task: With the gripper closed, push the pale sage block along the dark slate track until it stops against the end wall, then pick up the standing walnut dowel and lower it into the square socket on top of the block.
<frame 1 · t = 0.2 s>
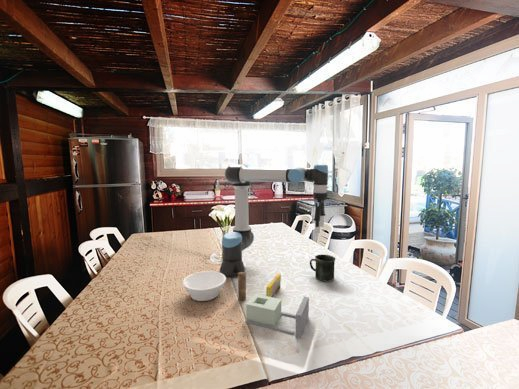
hand: (319, 229, 145), 28 cm above the table, fingers open, 13 cm apart
mug: (321, 277, 148), on the table
bowl: (205, 295, 128), on the table
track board: (275, 323, 105), on the table
candy box: (273, 296, 127), on the table
dowel: (242, 301, 122), on the table
block: (264, 309, 106), point 5 cm above the table, slide at 0.0 cm
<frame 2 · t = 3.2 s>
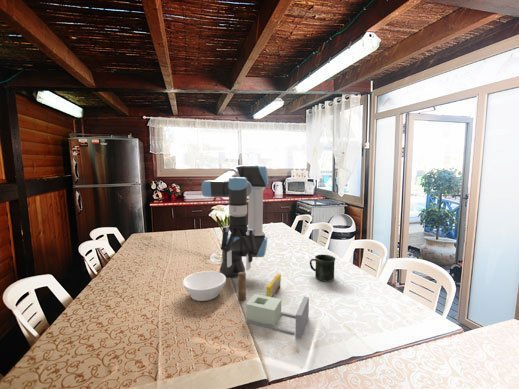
hand: (238, 267, 109), 21 cm above the table, fingers open, 8 cm apart
nothing on the table moved.
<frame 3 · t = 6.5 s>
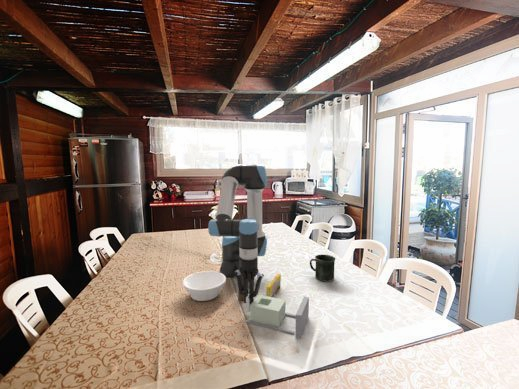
hand: (248, 310, 109), 3 cm above the table, fingers closed
block: (268, 310, 106), point 5 cm above the table, slide at 1.8 cm, touching gripper
everything else where it was.
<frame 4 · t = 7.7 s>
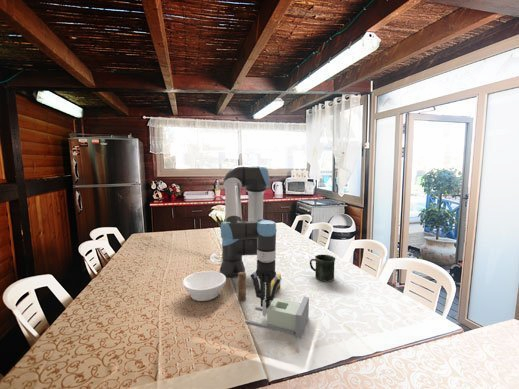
hand: (265, 314, 106), 3 cm above the table, fingers closed
block: (285, 314, 103), point 5 cm above the table, slide at 9.0 cm, touching gripper, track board
everything else where it was.
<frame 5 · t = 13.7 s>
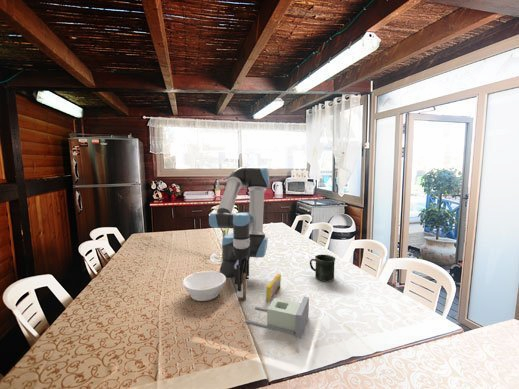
hand: (242, 294, 121), 4 cm above the table, fingers closed on dowel, 3 cm apart
dowel: (242, 301, 122), on the table, touching gripper
block: (285, 314, 103), point 5 cm above the table, slide at 9.0 cm, touching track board
everything else where it was.
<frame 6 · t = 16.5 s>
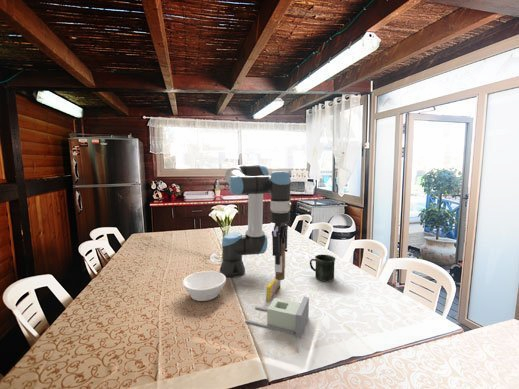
hand: (280, 269, 102), 23 cm above the table, fingers closed on dowel, 3 cm apart
dowel: (280, 278, 102), point 20 cm above the table, touching gripper
everything else where it was.
when the fingers open (9 cm above the table, at t = 19.4 s): dowel stays where it is, resting on block.
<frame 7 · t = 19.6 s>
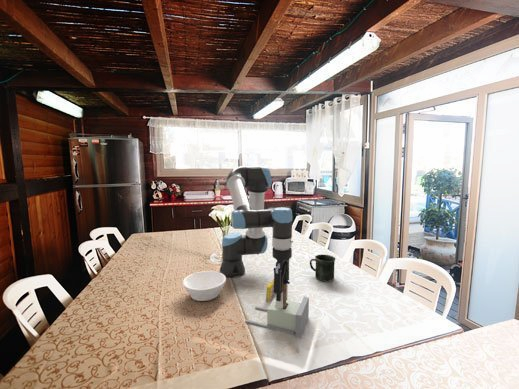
hand: (281, 303, 103), 9 cm above the table, fingers open, 6 cm apart
dowel: (281, 318, 104), point 3 cm above the table, touching block
block: (285, 314, 103), point 5 cm above the table, slide at 9.0 cm, touching dowel, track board
everything else where it was.
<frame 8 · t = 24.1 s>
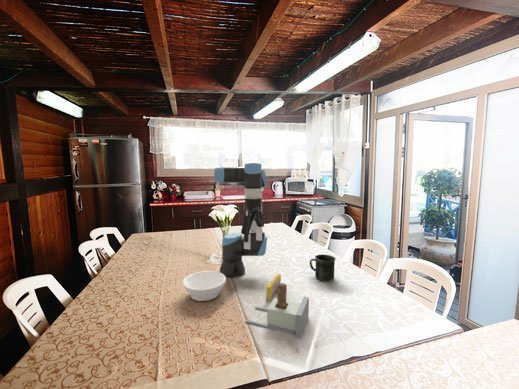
hand: (253, 244, 116), 29 cm above the table, fingers open, 13 cm apart
block: (285, 314, 103), point 5 cm above the table, slide at 9.0 cm, touching dowel
everything else where it was.
at the end: dowel 0.0 cm from the target spot on the block, point 1.5 cm above the block's base; block slide at 9.0 cm; dowel tilted 1° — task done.
